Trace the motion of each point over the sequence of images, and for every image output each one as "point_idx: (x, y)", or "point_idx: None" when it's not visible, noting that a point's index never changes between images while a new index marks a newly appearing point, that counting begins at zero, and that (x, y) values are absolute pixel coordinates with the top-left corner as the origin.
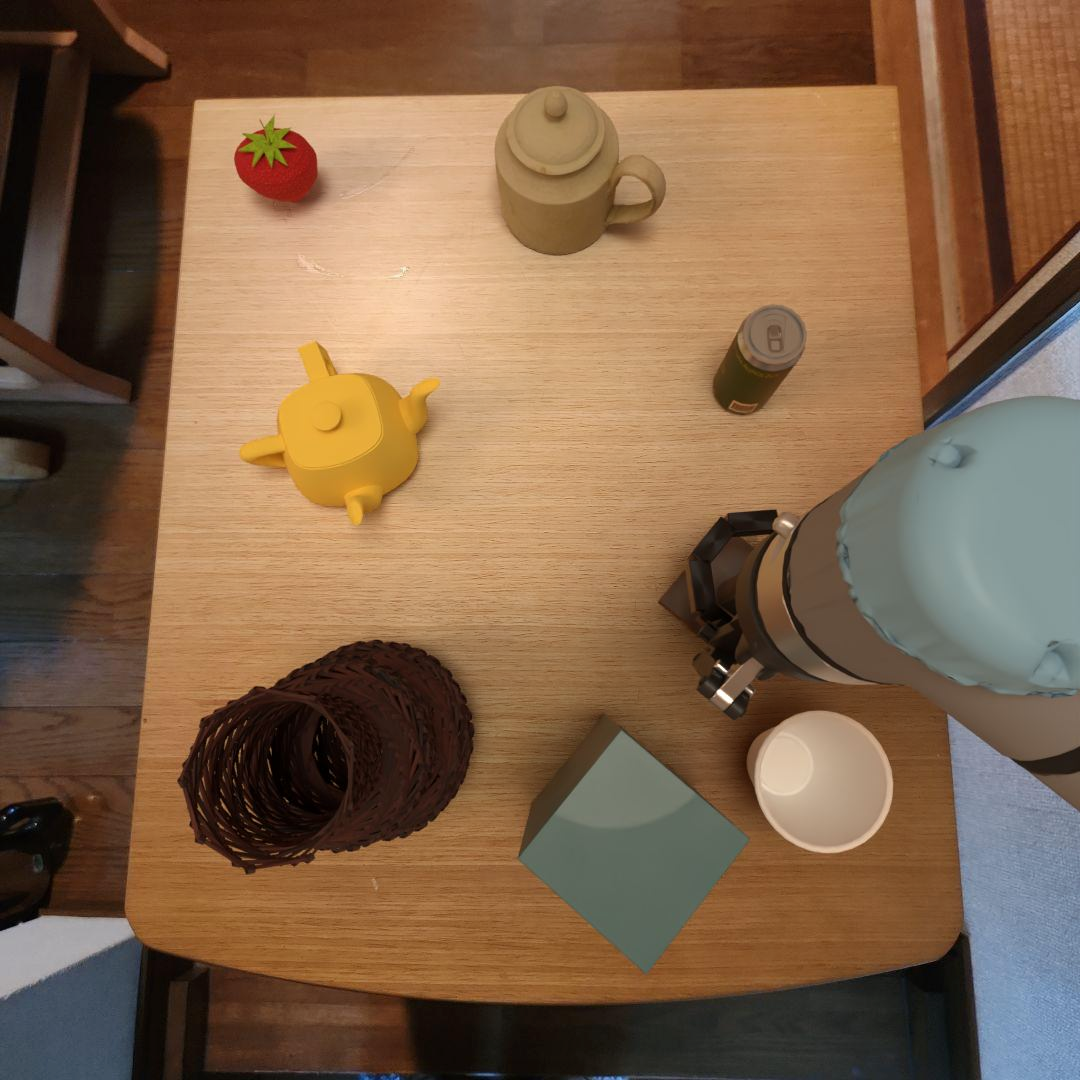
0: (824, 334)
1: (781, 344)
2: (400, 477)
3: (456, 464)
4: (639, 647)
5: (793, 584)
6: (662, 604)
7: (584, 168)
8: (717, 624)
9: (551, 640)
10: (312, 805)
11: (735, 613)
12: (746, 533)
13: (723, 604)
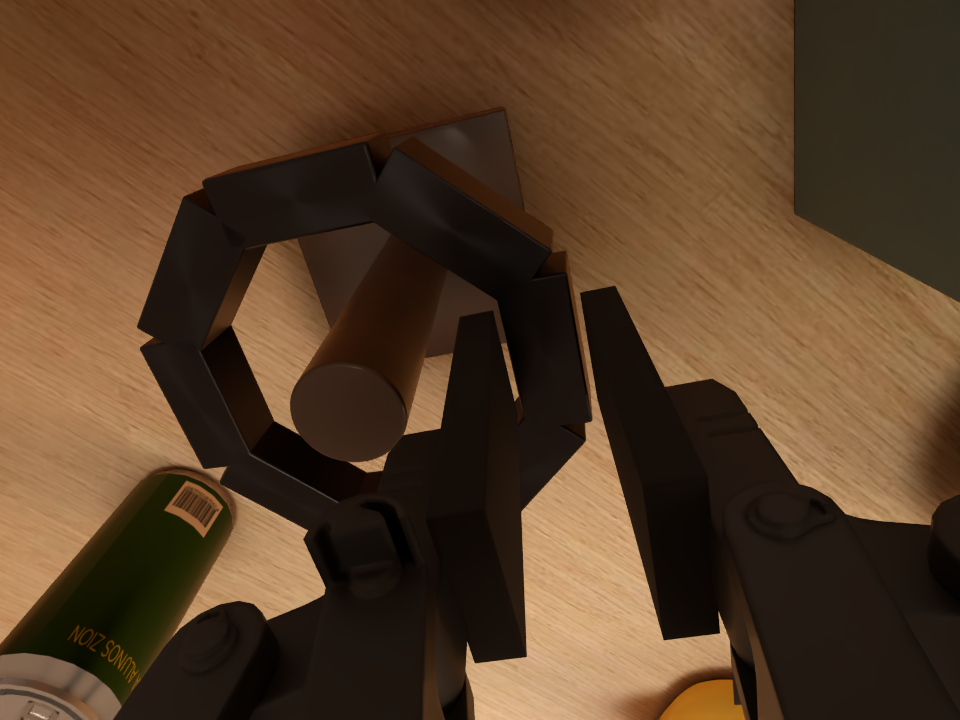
0: (8, 491)
1: (27, 708)
2: (740, 716)
3: (643, 650)
4: (637, 274)
5: None
6: None
7: None
8: (698, 633)
9: (752, 383)
10: None
11: (508, 397)
12: (325, 478)
13: (516, 429)
